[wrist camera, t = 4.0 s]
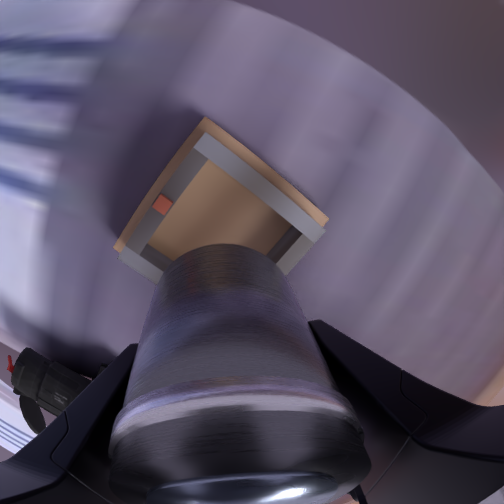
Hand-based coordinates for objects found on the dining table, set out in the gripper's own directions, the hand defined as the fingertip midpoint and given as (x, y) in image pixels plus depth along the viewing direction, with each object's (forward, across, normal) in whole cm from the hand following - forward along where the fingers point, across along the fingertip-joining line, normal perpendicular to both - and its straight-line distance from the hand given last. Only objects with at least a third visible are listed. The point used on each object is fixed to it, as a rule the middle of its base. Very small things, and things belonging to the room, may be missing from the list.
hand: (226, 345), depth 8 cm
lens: (+2, 0, 0) cm, 2 cm away
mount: (+12, 0, 0) cm, 12 cm away
